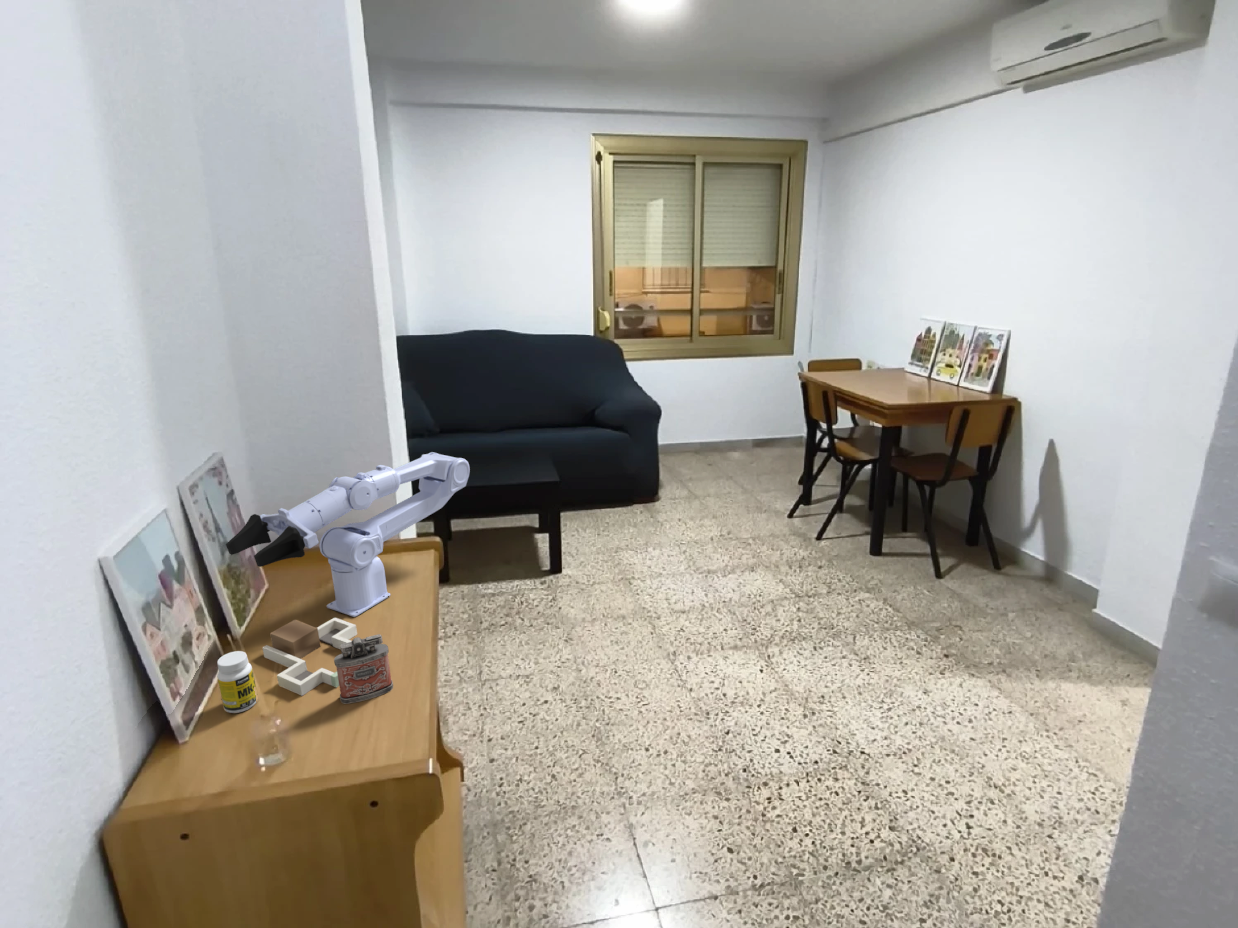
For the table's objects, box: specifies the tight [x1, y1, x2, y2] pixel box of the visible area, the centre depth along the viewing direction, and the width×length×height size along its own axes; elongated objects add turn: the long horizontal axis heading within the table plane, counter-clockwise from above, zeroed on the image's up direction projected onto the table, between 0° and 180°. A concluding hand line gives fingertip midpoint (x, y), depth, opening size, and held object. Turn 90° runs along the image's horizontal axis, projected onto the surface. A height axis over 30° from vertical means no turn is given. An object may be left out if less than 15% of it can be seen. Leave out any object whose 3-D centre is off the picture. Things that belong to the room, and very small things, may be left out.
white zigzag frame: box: [262, 617, 358, 697], centre depth 116 cm, size 17×18×2 cm
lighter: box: [333, 633, 394, 705], centre depth 106 cm, size 8×3×10 cm, turn 117°
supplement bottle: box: [216, 650, 257, 714], centre depth 104 cm, size 5×5×8 cm
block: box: [270, 619, 321, 659], centre depth 118 cm, size 5×6×4 cm
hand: (242, 555), depth 111 cm, fingers open, 7 cm apart
